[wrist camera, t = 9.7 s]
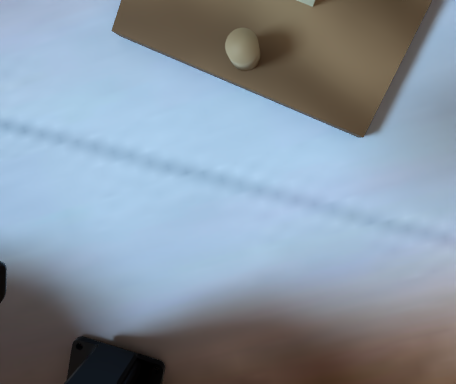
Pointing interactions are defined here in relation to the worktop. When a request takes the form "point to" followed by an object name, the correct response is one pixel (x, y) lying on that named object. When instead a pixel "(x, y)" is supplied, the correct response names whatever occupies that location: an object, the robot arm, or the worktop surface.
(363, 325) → the worktop surface
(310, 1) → the sage block
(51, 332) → the worktop surface
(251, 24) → the peg stand
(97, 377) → the robot arm
